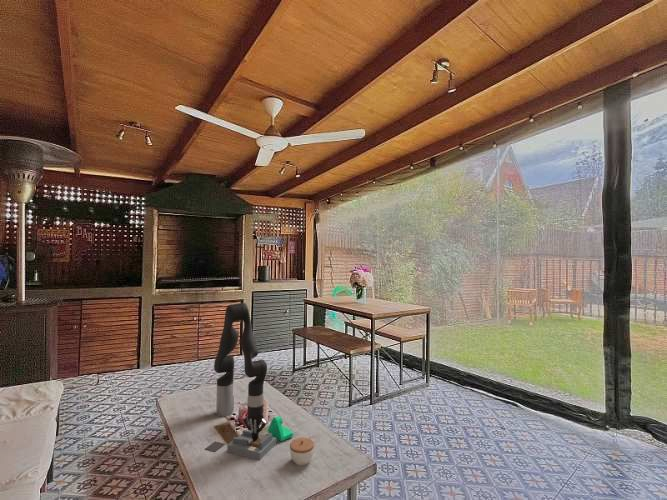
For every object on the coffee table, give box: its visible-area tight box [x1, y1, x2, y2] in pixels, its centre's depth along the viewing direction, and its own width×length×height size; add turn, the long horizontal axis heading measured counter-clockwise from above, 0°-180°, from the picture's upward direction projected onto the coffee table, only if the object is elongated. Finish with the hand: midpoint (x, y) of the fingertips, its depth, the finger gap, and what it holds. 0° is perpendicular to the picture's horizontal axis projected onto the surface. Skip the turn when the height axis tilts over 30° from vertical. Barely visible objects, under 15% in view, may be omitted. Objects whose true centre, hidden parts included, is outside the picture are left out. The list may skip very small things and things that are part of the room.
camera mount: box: [267, 415, 294, 442], centre depth 170 cm, size 12×8×10 cm, turn 45°
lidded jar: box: [289, 437, 315, 467], centre depth 148 cm, size 11×11×9 cm
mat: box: [204, 441, 226, 453], centre depth 159 cm, size 7×6×1 cm
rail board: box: [226, 429, 277, 460], centre depth 159 cm, size 14×18×6 cm
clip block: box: [250, 438, 263, 448], centre depth 158 cm, size 5×4×4 cm
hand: (255, 439), depth 158 cm, fingers closed
